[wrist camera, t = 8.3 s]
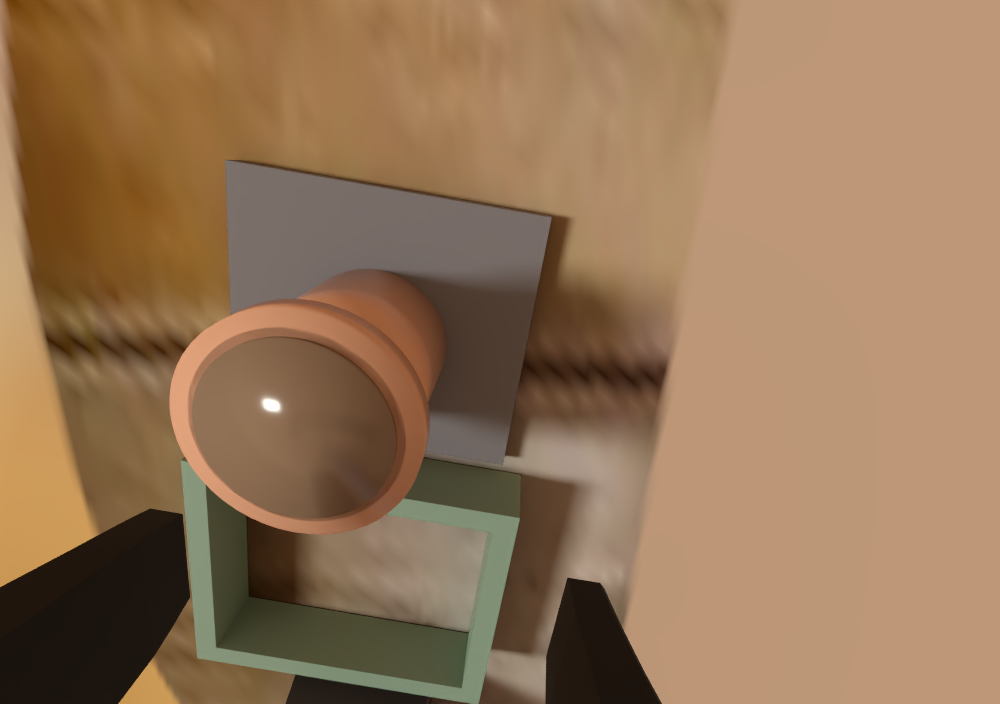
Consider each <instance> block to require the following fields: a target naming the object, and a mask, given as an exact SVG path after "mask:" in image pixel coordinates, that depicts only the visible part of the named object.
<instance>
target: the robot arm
mask: <svg viewBox="0 0 1000 704" xmlns="http://www.w3.org/2000/svg"><path fill="white" fill-rule="evenodd" d="M189 598H190V591H189V580H188V569H187V558H186V547H185V536H184V525H183V514H179V513H173V512H167V511H161V510H155V509H148V510H146V511H144V512H142V513H140V514H138V515H136V516H134V517H132V518H130V519H128V520H126V521H124V522H123V523H121V524H119V525H117V526H115V527H113V528H111V529H109V530H107V531H105V532H104V533H102V534H100V535H98V536H96V537H94V538H92V539H90V540H89V541H87V542H85V543H83V544H81V545H79V546H78V547H76V548H74V549H72V550H70V551H68V552H66V553H64V554H63V555H61V556H59V557H57V558H55V559H53V560H51V561H49V562H47V563H45V564H44V565H42V566H40V567H38V568H36V569H34V570H32V571H30V572H28V573H26V574H25V575H23V576H21V577H19V578H17V579H15V580H13V581H11V582H10V583H7V584H6V585H4V586H2V587H0V704H118V703H119V702H120V700H121V699H122V698H123V697H124V695H125V694H126V693H127V691H128V690H129V688H130V687H131V686H132V685H133V683H134V682H135V681H136V679H137V678H138V677H139V675H140V674H141V673H142V671H143V670H144V669H145V667H146V666H147V665H148V663H149V662H150V661H151V659H152V658H153V657H154V655H155V654H156V652H157V651H158V649H159V648H160V646H161V644H162V643H163V641H164V640H165V638H166V636H167V635H168V633H169V632H170V630H171V628H172V627H173V625H174V623H175V622H176V620H177V618H178V617H179V615H180V613H181V612H182V610H183V608H184V606H185V605H186V603H187V601H188V600H189ZM546 704H662V703H661V701H660V700H659V698H658V696H657V694H656V692H655V690H654V688H653V687H652V685H651V683H650V681H649V679H648V677H647V676H646V674H645V672H644V670H643V668H642V666H641V664H640V662H639V660H638V658H637V656H636V654H635V652H634V650H633V648H632V646H631V644H630V642H629V640H628V638H627V636H626V634H625V632H624V630H623V628H622V626H621V624H620V622H619V620H618V618H617V615H616V613H615V611H614V609H613V607H612V605H611V603H610V600H609V598H608V596H607V594H606V591H605V589H604V588H603V586H602V585H601V584H600V583H597V582H591V581H584V580H578V579H572V578H567V582H566V585H565V589H564V593H563V597H562V600H561V604H560V608H559V611H558V615H557V619H556V622H555V626H554V630H553V633H552V637H551V641H550V645H549V648H548V652H547V656H546Z"/></svg>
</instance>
